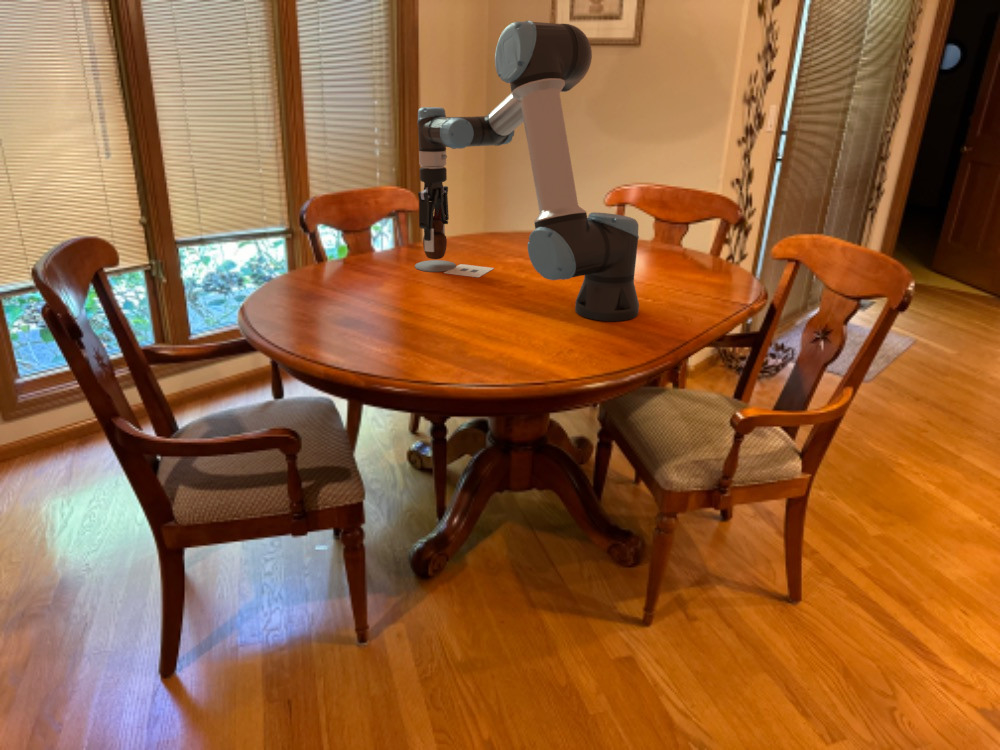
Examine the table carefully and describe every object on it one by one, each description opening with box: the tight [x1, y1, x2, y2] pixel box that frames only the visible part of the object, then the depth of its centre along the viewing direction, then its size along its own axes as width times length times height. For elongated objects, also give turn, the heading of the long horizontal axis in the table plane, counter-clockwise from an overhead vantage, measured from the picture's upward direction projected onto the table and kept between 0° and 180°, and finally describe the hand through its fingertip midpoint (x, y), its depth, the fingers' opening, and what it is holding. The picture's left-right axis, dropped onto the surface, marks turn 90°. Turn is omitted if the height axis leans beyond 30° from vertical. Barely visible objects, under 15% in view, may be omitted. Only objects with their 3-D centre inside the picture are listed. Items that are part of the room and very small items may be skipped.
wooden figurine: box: [422, 206, 447, 260], centre depth 198 cm, size 7×6×15 cm
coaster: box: [414, 259, 457, 273], centre depth 202 cm, size 12×12×1 cm
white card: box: [443, 263, 495, 278], centre depth 198 cm, size 11×11×1 cm
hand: (435, 248), depth 200 cm, fingers closed on wooden figurine, 6 cm apart
